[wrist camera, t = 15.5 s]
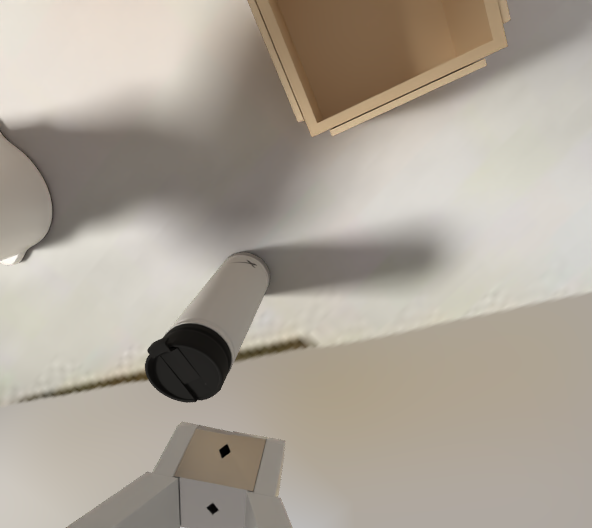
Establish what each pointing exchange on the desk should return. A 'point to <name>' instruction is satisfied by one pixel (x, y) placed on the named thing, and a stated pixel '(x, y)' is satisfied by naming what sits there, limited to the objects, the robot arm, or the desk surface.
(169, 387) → the travel mug
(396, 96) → the carton
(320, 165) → the desk surface
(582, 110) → the desk surface
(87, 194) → the desk surface
